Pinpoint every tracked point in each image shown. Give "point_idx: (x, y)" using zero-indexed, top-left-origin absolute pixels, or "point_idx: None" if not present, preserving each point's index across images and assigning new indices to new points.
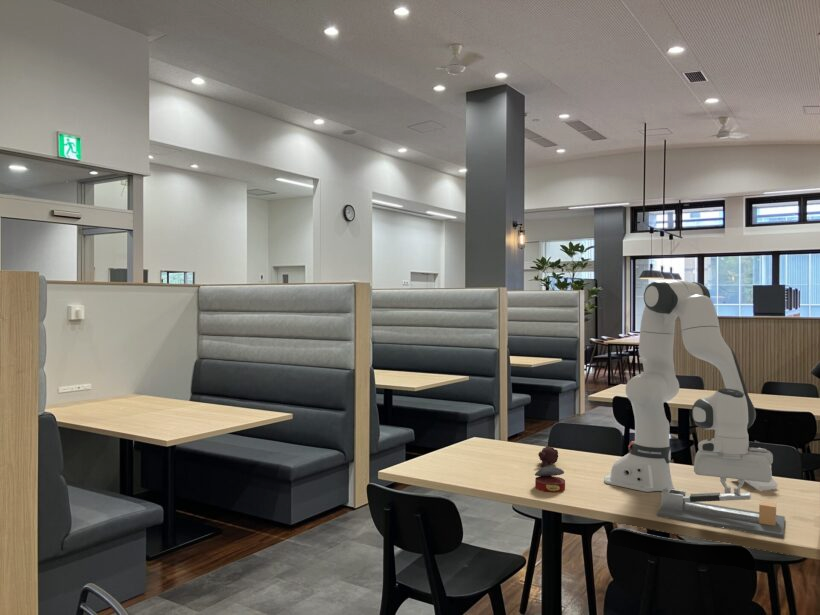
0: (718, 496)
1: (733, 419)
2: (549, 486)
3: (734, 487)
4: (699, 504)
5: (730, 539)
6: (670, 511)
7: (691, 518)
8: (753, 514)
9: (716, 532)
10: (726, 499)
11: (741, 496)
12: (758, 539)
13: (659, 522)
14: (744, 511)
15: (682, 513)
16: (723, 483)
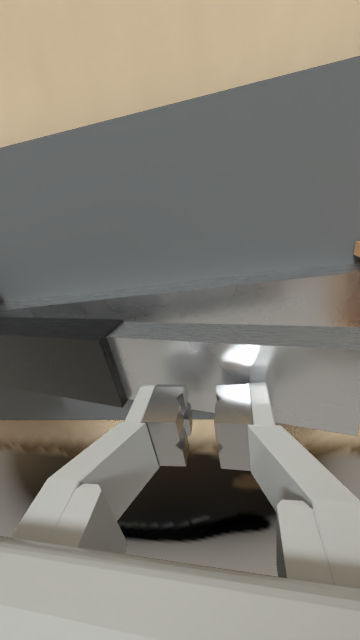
0: (125, 401)
1: None
2: None
3: (216, 431)
4: (43, 305)
5: (243, 479)
6: (13, 388)
7: (98, 417)
8: (325, 300)
9: (196, 451)
10: None
11: (280, 417)
12: (324, 449)
13: (49, 450)
14: (255, 136)
15: None
16: (117, 506)
